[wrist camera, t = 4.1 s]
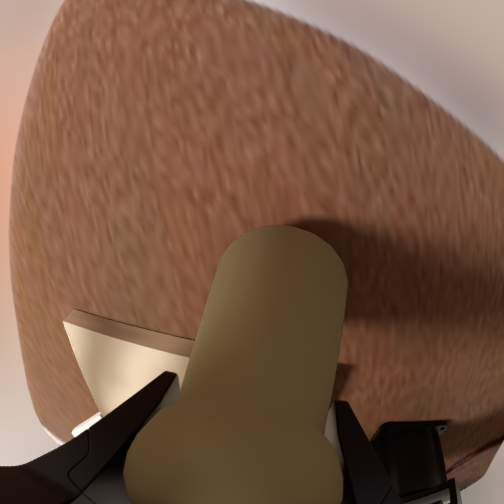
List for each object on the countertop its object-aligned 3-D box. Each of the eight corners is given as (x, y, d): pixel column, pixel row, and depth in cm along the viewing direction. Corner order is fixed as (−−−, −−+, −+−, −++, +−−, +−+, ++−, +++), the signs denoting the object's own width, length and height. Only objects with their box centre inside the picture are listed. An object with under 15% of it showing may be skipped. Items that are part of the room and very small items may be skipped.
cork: (351, 333, 14) (350, 565, 5) (234, 341, 16) (159, 540, 6) (341, 215, 12) (373, 527, 2) (200, 235, 14) (33, 453, 4)
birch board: (331, 362, 18) (332, 380, 16) (294, 454, 23) (292, 468, 22) (74, 309, 20) (62, 321, 18) (111, 410, 26) (105, 421, 24)
